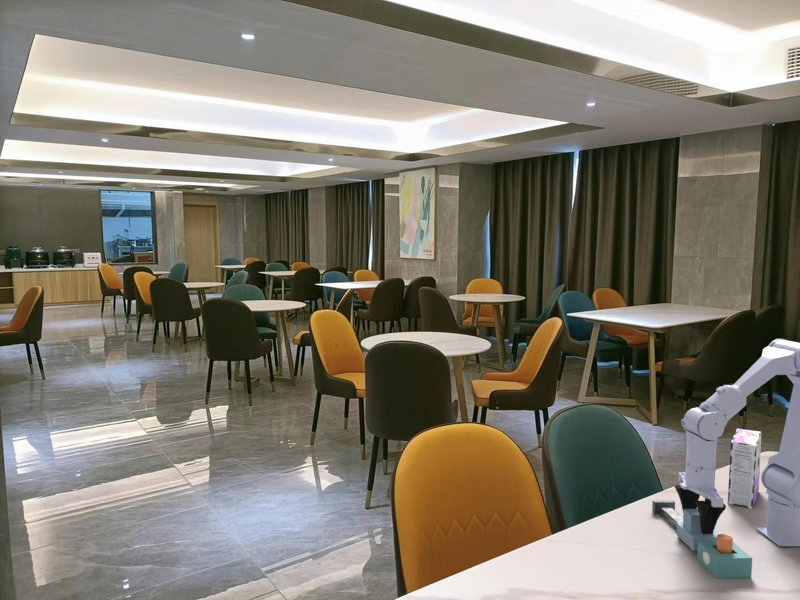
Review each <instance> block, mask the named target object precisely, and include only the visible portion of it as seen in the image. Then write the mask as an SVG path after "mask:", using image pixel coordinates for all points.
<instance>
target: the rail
mask: <svg viewBox="0 0 800 600" xmlns="http://www.w3.org/2000/svg"><path fill="white" fill-rule="evenodd" d="M651 504H652V505H651V507H652V508H651V509H652V510H651V512H652V514H653V515H659V516H661V517H662V518H663V519H664V520H665V522H667V523H669V525H670V526H672V527H673V528H674V529H675V530H676V531H677V527H676V523H683V516H681V515H680V514H679V513H678V512H677V511H676V502H675V500H673V499H665V500H664V499H657V500H656V499H654V500H652V503H651Z"/></svg>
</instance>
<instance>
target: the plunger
mask: <svg viewBox="0 0 800 600" xmlns="http://www.w3.org/2000/svg"><path fill="white" fill-rule="evenodd" d="M733 543H734V538H733V537H732V536H730V535H729V534H726V533H725V534H724V533H718V534H717V548H716V550H717V551H718V552H719V553H721V554H732V548H733Z"/></svg>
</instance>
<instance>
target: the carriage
mask: <svg viewBox="0 0 800 600" xmlns="http://www.w3.org/2000/svg"><path fill="white" fill-rule="evenodd" d="M682 513H683V515H682V517H683V523H676V527H677V530H676V536H677V537H678V538H679V539H680V540H681V541H682V542H683V543H685V545H687V547H688V548H690V549H691V551H693V552H698V541H717V535H718V534H717V533H716V532H715V530H714V531H713V534H702V532H701V527H700V516H699V511H698V508H697V509H684V511H683V510H682Z"/></svg>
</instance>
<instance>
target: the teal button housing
mask: <svg viewBox="0 0 800 600" xmlns="http://www.w3.org/2000/svg"><path fill="white" fill-rule="evenodd" d="M716 548H717V541H698V551H697V553H696V555H697V556H696V557H697V558H696V559H697V560H696V561H698V562H699V563H700V564H701V565H702V566H703V567H704V568H705V569H706V570H707V571H708V572H709V573H710V574H711V575H712V576H713V577H714V578H716V579H746V578H748V579H751V578H752V570H753V569H752V568H753V557H752V556H751V555H750V554H748V553H747V552H745V550H743V549H742V547H740V546H738V545H737V544H736V543H735V542H733V548H732V554H721V553H719V552H718V551H717V550H716Z"/></svg>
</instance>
